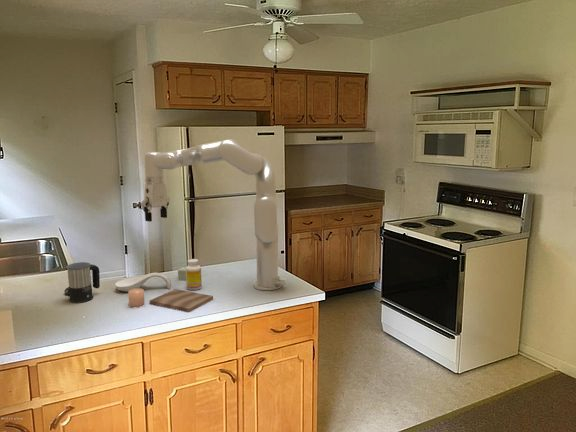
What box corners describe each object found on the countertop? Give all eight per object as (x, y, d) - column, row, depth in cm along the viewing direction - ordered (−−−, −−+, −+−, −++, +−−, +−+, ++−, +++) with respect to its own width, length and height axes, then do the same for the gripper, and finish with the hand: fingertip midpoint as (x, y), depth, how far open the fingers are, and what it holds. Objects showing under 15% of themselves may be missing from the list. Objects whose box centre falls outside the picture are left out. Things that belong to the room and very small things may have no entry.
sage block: (192, 277, 232) (191, 267, 231) (188, 280, 227) (188, 270, 226) (181, 277, 233) (181, 267, 232) (178, 280, 228) (178, 270, 227)
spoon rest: (113, 295, 208) (112, 279, 207) (117, 286, 220) (116, 271, 218) (169, 292, 212) (169, 276, 211) (171, 283, 224) (170, 268, 222)
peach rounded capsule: (147, 303, 198) (147, 289, 197) (137, 308, 193) (136, 294, 191) (136, 301, 200) (135, 287, 199) (125, 306, 195) (124, 291, 194)
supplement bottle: (203, 289, 215) (202, 261, 213) (187, 291, 212) (186, 263, 210) (199, 285, 221) (199, 257, 219) (185, 286, 219) (184, 259, 216)
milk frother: (84, 304, 197) (81, 268, 195) (50, 301, 201) (46, 266, 198) (104, 292, 211) (101, 259, 208) (71, 290, 214) (69, 257, 212)
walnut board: (213, 299, 203) (213, 295, 202) (189, 312, 189) (189, 308, 188) (175, 292, 211) (175, 288, 211) (149, 304, 197) (149, 300, 197)
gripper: (147, 183, 202) (149, 223, 205) (174, 179, 217) (175, 216, 220) (133, 182, 205) (135, 221, 208) (161, 178, 220) (163, 215, 223)
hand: (156, 219), depth 214 cm, fingers open, 9 cm apart
